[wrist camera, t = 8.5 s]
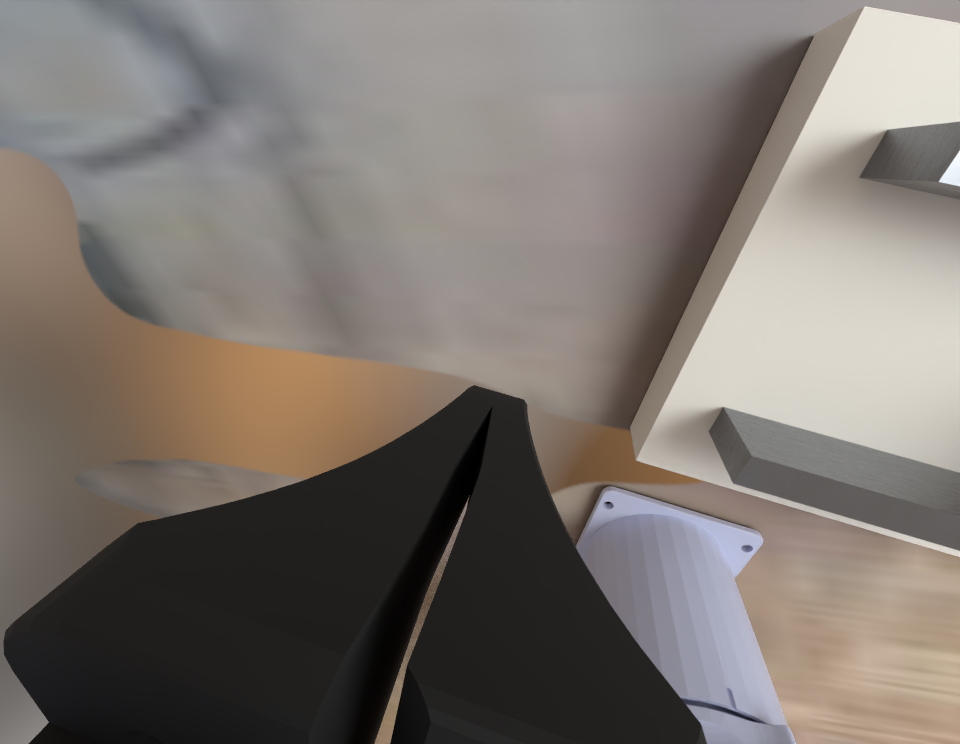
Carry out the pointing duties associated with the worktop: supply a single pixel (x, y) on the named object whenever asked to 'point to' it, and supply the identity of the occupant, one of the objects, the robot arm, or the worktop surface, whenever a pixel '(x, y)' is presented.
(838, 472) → the channel walls
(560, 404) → the worktop surface
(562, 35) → the worktop surface
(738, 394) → the channel board
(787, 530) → the worktop surface
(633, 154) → the worktop surface
